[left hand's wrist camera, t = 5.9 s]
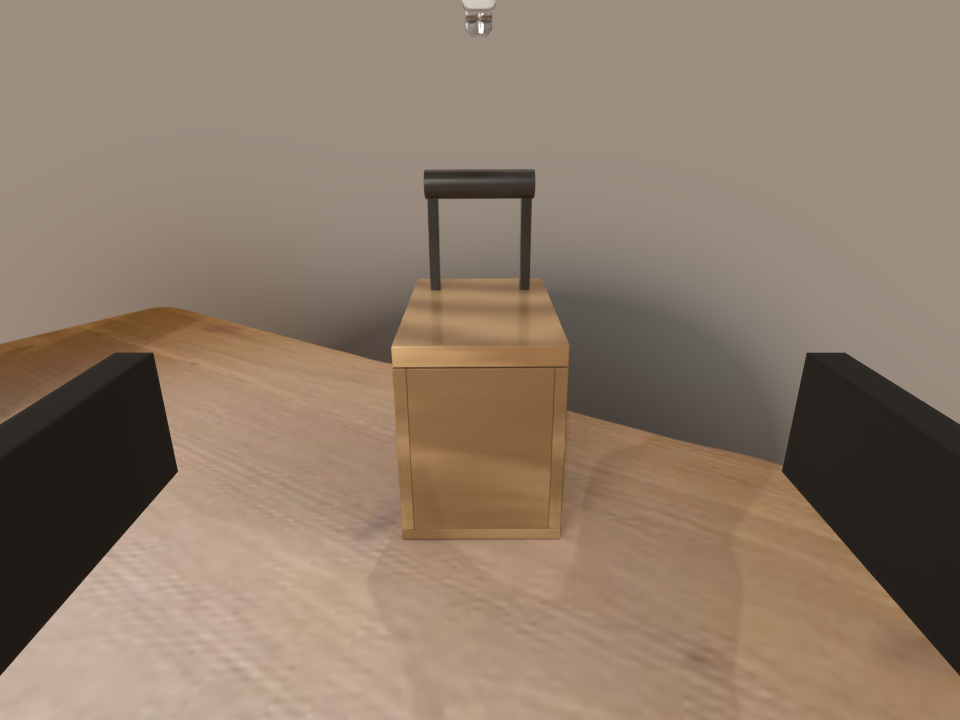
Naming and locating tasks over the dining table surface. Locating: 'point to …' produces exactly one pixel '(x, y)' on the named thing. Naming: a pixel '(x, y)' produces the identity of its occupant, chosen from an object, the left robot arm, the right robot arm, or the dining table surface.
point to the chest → (481, 451)
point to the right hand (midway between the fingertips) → (478, 25)
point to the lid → (480, 293)
